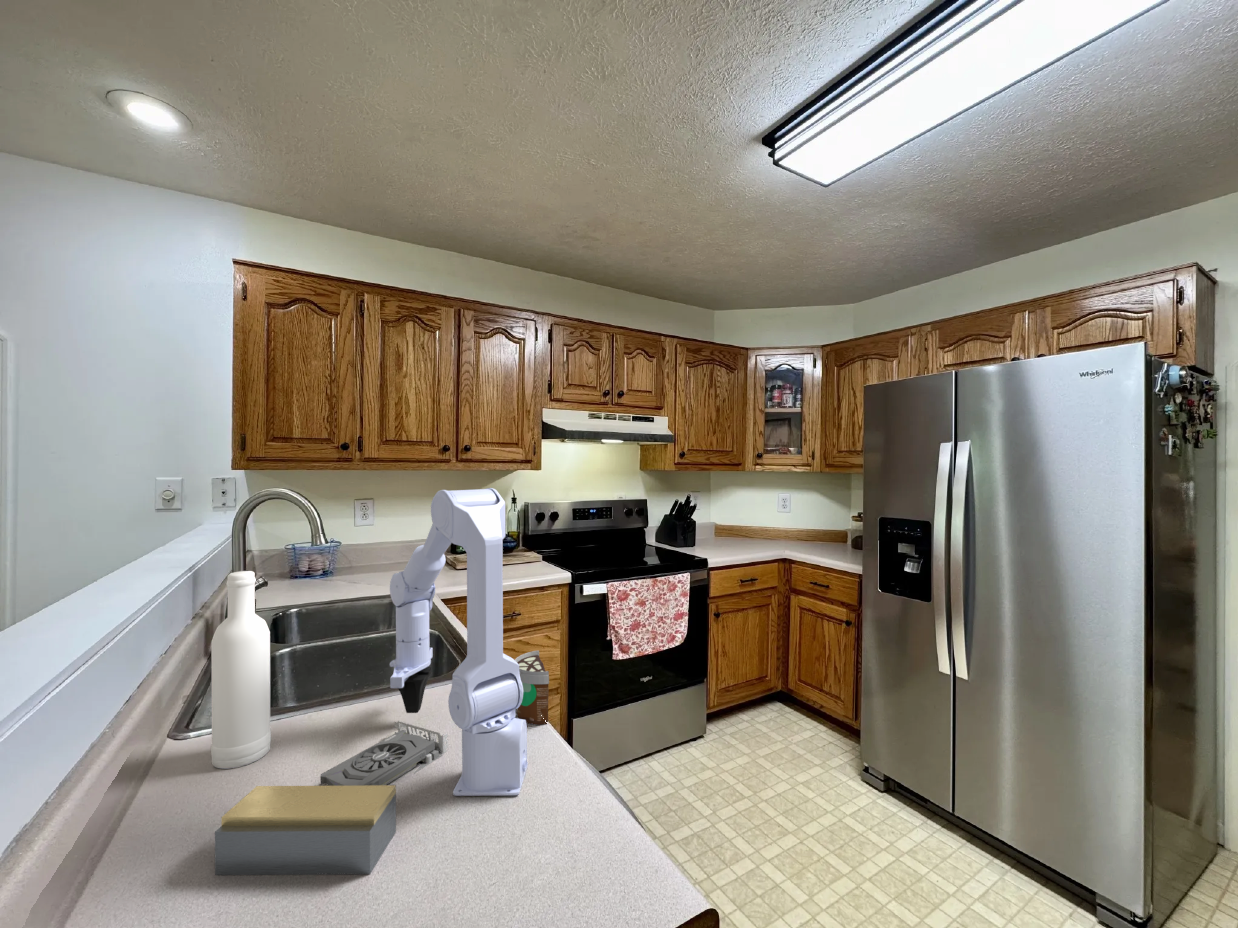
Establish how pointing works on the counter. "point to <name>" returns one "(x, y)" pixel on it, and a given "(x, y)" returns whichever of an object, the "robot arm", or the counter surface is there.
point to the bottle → (240, 679)
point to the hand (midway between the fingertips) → (413, 711)
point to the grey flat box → (306, 830)
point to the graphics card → (388, 758)
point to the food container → (533, 689)
